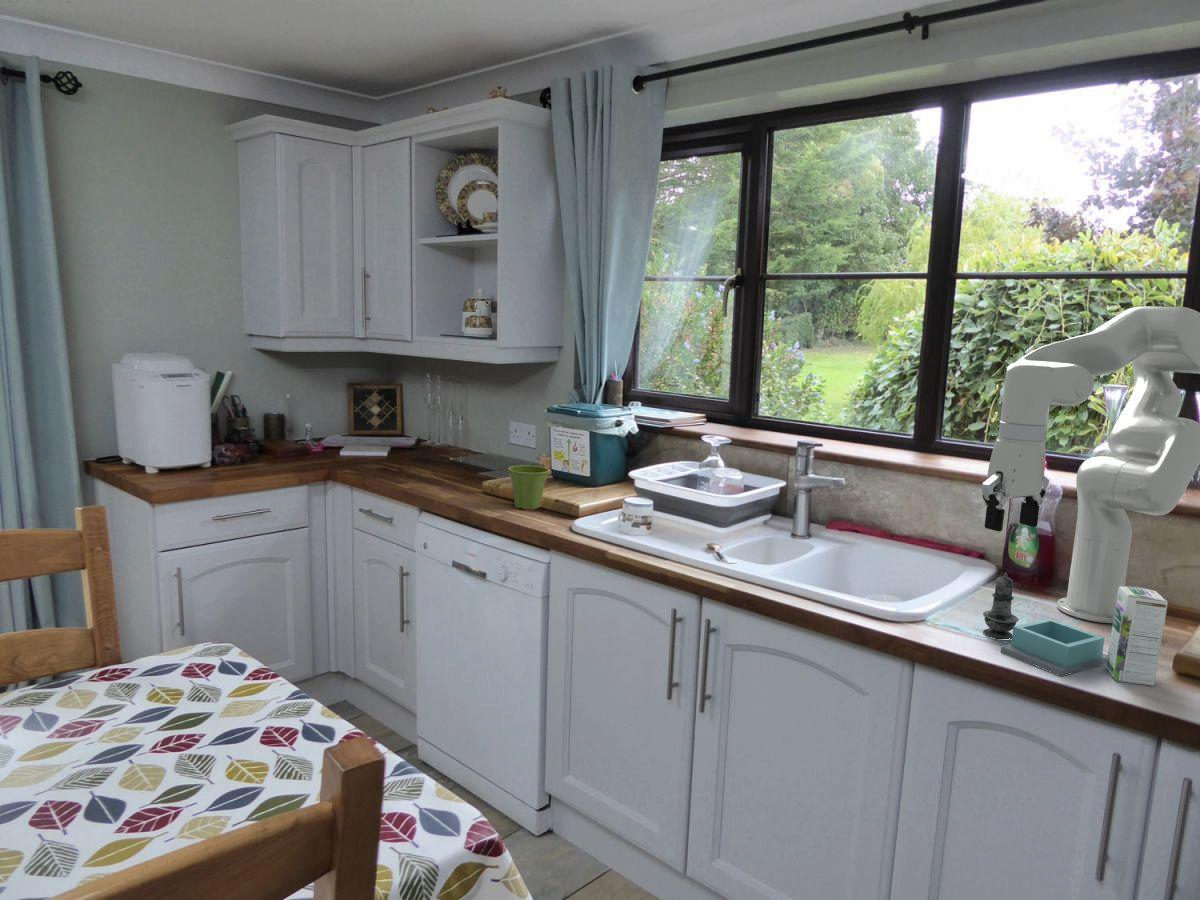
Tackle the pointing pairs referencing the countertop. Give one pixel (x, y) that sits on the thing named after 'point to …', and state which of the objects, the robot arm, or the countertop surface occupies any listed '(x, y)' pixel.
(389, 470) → the countertop surface
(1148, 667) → the syrup box
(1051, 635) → the box
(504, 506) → the countertop surface
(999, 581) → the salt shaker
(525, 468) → the plant pot
